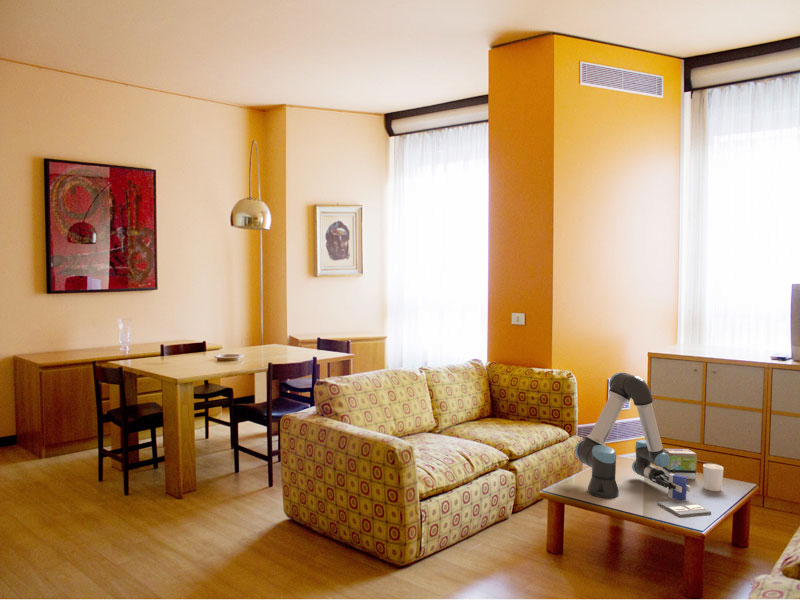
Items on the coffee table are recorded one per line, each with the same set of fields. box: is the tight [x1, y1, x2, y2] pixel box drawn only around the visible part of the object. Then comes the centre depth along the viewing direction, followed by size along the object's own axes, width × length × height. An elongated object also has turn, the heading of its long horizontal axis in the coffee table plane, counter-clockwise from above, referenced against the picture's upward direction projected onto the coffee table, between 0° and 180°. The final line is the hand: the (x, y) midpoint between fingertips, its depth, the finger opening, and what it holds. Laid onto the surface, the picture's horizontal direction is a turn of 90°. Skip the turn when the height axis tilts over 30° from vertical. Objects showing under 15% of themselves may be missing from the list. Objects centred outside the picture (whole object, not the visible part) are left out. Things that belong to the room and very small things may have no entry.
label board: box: [657, 499, 712, 518], centre depth 293 cm, size 17×16×2 cm
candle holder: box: [702, 463, 724, 492], centre depth 323 cm, size 10×10×12 cm
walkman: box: [667, 474, 688, 500], centre depth 307 cm, size 8×3×12 cm, turn 49°
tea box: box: [661, 448, 698, 480], centre depth 342 cm, size 15×10×15 cm
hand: (685, 489), depth 302 cm, fingers closed on walkman, 4 cm apart
